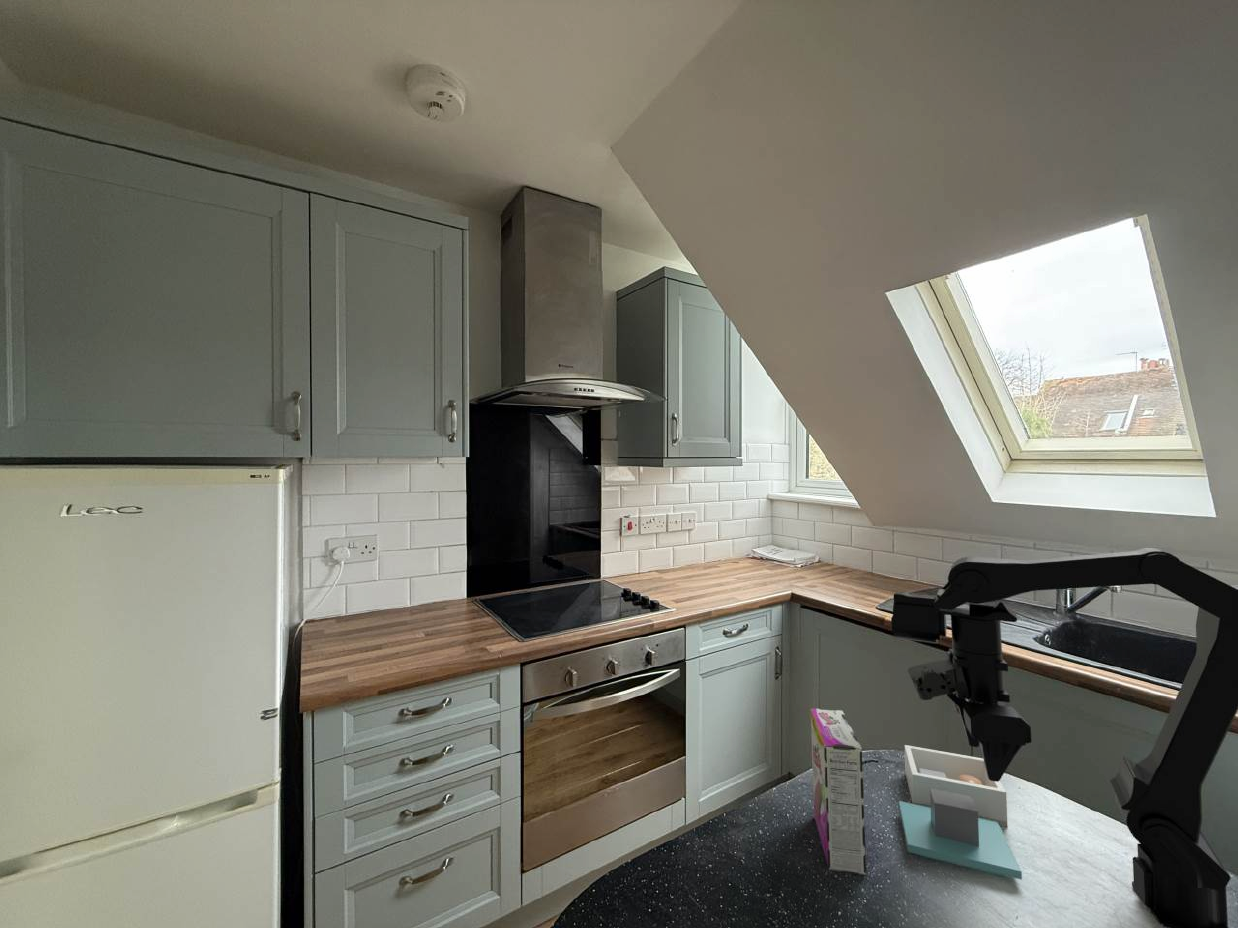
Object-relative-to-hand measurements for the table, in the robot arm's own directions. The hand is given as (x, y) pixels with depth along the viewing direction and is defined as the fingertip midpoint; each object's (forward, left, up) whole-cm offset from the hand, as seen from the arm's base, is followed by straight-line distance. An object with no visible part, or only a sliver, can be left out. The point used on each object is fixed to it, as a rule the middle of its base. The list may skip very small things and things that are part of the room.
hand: (983, 762), depth 70 cm
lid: (+4, +1, -12) cm, 12 cm away
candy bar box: (+19, +7, -12) cm, 23 cm away
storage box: (+2, -11, -12) cm, 16 cm away
